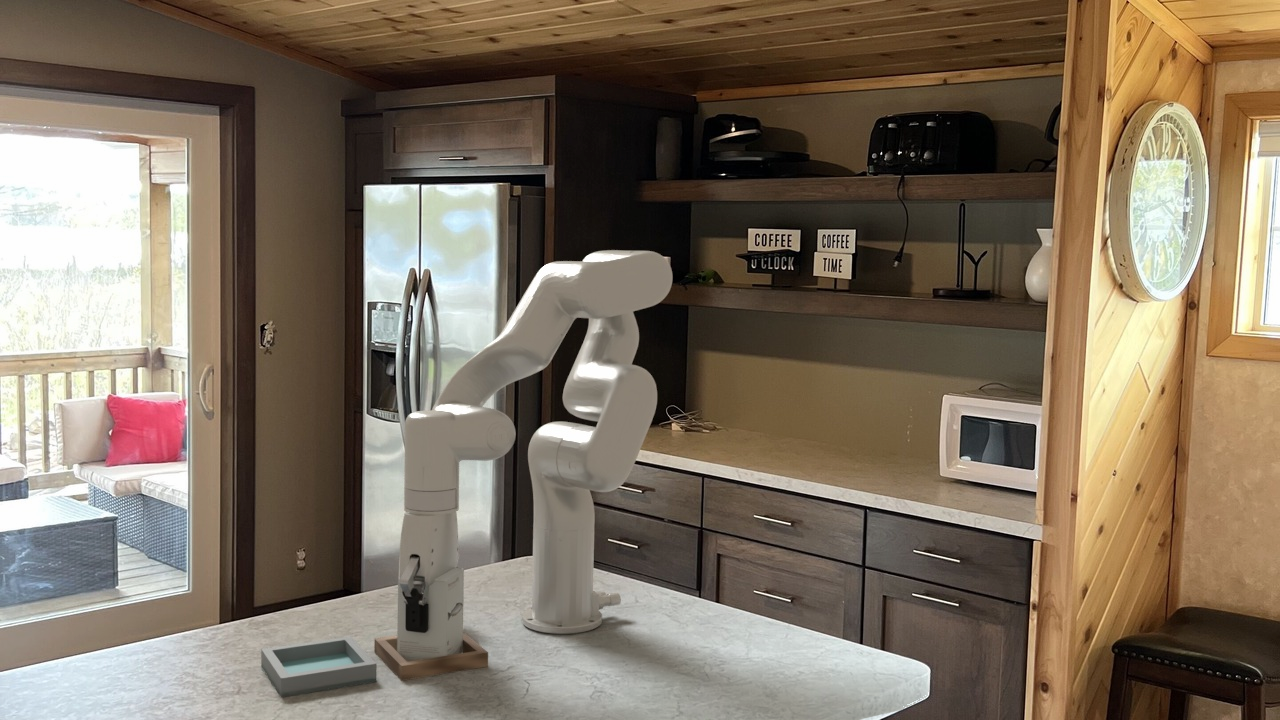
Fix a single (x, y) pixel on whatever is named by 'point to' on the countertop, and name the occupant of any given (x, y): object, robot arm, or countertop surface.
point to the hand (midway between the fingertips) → (430, 621)
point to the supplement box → (435, 620)
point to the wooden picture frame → (430, 659)
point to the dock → (317, 666)
